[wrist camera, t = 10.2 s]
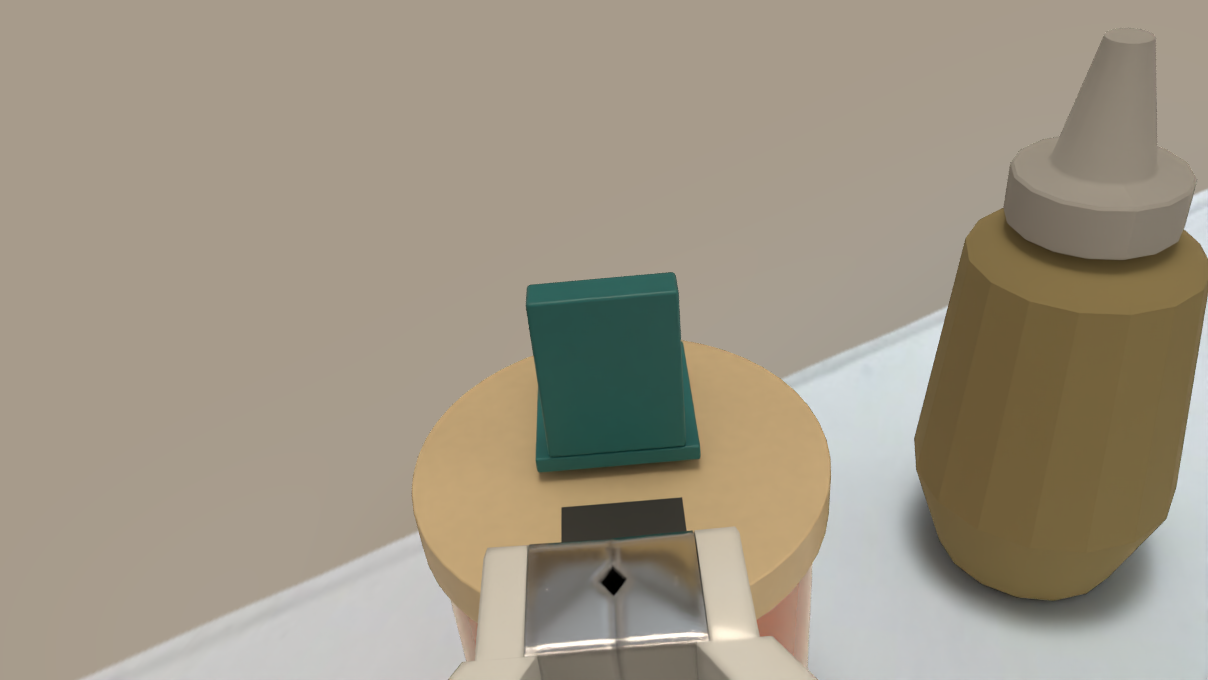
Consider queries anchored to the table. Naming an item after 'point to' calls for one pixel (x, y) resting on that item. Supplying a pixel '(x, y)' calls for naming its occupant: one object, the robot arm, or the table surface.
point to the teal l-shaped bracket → (610, 373)
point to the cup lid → (628, 479)
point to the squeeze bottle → (1069, 348)
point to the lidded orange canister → (781, 622)
